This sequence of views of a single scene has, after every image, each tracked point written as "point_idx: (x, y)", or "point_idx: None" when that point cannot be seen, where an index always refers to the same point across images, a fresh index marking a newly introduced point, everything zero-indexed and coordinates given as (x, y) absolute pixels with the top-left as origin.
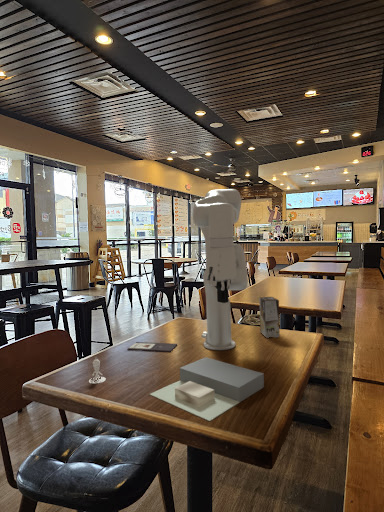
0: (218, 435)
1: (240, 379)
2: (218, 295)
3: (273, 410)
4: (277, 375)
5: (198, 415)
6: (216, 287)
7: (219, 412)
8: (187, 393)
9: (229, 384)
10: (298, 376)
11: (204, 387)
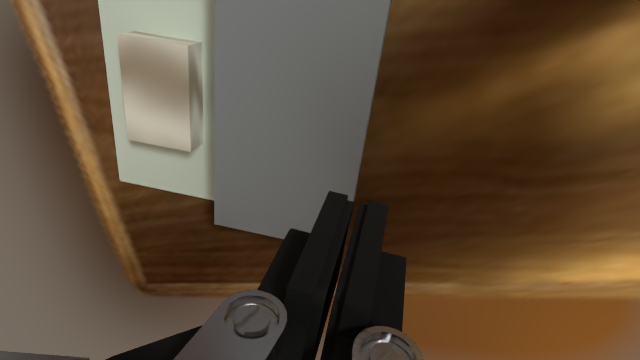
0: (100, 216)
1: (263, 208)
2: (276, 265)
3: (247, 275)
4: (456, 238)
5: (116, 148)
6: (176, 350)
7: (159, 184)
8: (123, 93)
9: (214, 194)
10: (475, 290)
11: (183, 118)
